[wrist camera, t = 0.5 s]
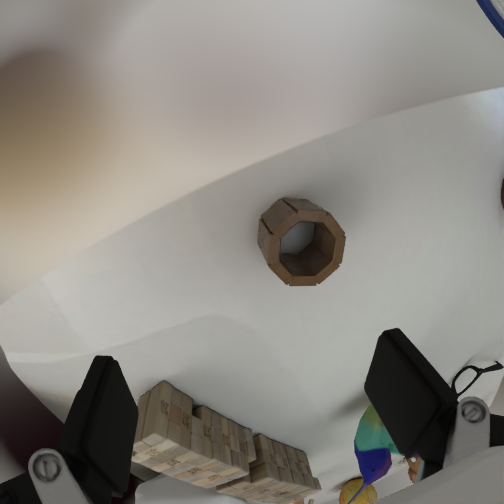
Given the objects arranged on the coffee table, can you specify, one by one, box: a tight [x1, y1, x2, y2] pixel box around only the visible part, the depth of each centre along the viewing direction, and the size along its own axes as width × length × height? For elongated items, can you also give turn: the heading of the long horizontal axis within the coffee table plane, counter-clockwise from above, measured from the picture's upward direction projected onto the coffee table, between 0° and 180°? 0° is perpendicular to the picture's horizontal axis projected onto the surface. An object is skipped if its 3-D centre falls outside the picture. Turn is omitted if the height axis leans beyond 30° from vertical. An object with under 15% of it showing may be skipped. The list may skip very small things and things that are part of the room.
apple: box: [339, 479, 377, 504], centre depth 43 cm, size 9×9×10 cm
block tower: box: [131, 381, 321, 504], centre depth 30 cm, size 8×8×29 cm
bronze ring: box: [258, 198, 346, 286], centre depth 22 cm, size 6×6×4 cm
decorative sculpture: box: [347, 404, 421, 504], centre depth 27 cm, size 17×18×15 cm
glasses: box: [451, 361, 504, 397], centre depth 38 cm, size 17×18×5 cm
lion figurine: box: [404, 457, 421, 483], centre depth 43 cm, size 15×5×9 cm, turn 177°
